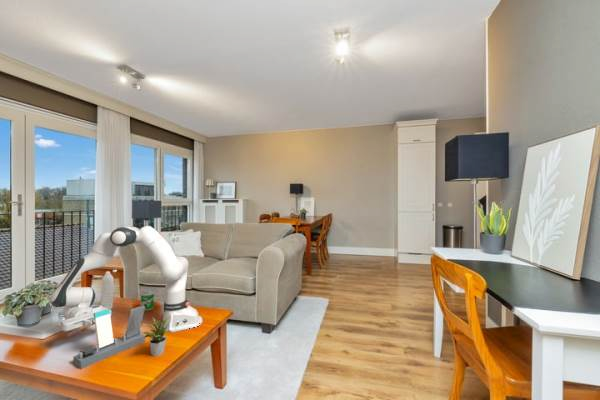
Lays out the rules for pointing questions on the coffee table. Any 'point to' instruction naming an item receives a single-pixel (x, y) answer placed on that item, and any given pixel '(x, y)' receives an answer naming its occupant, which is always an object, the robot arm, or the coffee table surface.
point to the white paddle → (103, 328)
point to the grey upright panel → (134, 321)
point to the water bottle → (107, 290)
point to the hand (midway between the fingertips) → (94, 322)
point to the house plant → (157, 337)
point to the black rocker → (88, 350)
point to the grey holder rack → (108, 350)
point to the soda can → (147, 300)
